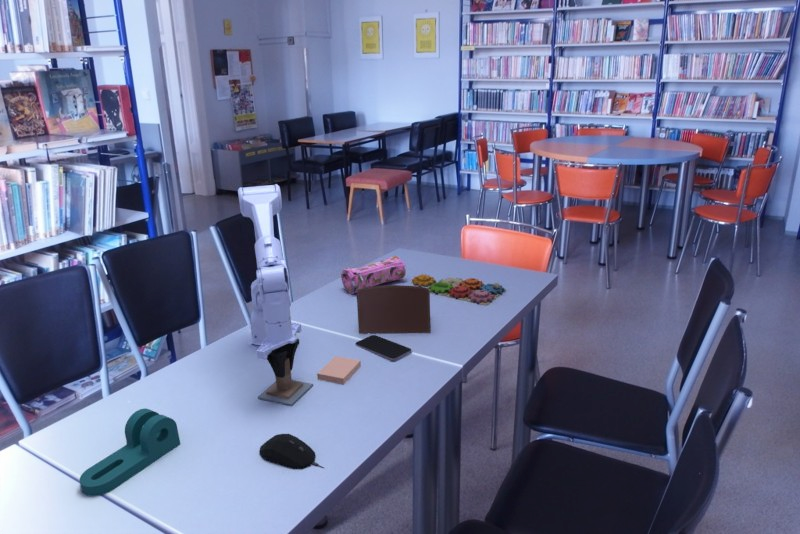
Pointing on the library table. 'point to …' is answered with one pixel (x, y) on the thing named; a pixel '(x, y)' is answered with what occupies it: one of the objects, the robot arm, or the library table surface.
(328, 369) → the tile
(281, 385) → the stamp
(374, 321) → the letter holder
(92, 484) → the bracket
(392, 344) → the smartphone
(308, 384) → the mat
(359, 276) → the pencil case
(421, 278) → the gear puzzle
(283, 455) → the gaming mouse
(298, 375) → the library table surface
